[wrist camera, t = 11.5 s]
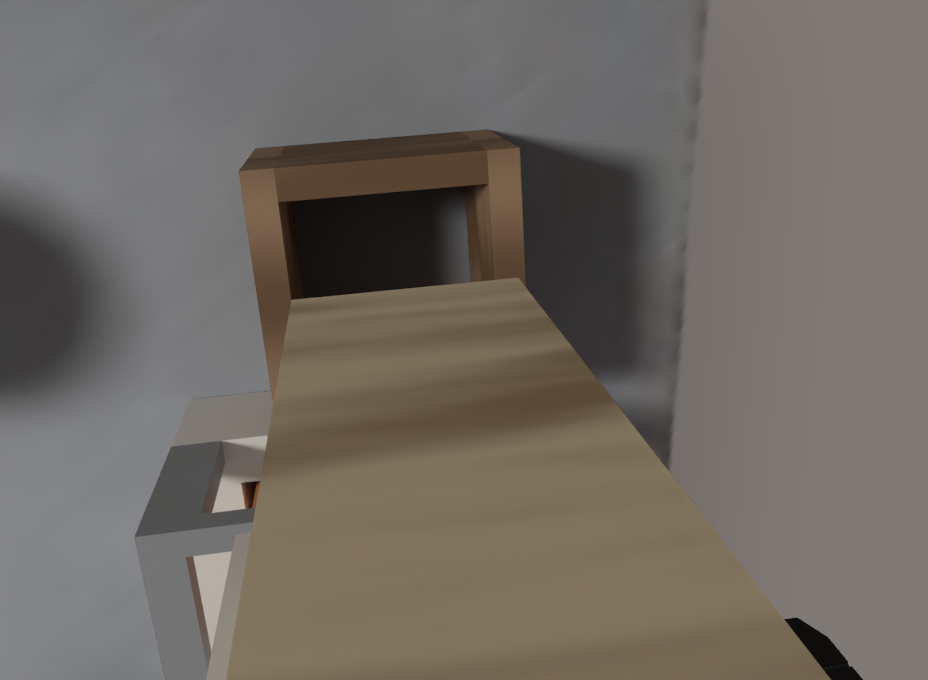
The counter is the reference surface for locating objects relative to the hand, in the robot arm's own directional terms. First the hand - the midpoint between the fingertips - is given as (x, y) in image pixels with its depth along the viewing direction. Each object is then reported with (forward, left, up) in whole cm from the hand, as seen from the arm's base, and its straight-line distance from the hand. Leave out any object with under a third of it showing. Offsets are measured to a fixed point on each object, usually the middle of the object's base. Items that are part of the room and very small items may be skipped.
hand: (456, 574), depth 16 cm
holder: (0, 0, -25) cm, 25 cm away
